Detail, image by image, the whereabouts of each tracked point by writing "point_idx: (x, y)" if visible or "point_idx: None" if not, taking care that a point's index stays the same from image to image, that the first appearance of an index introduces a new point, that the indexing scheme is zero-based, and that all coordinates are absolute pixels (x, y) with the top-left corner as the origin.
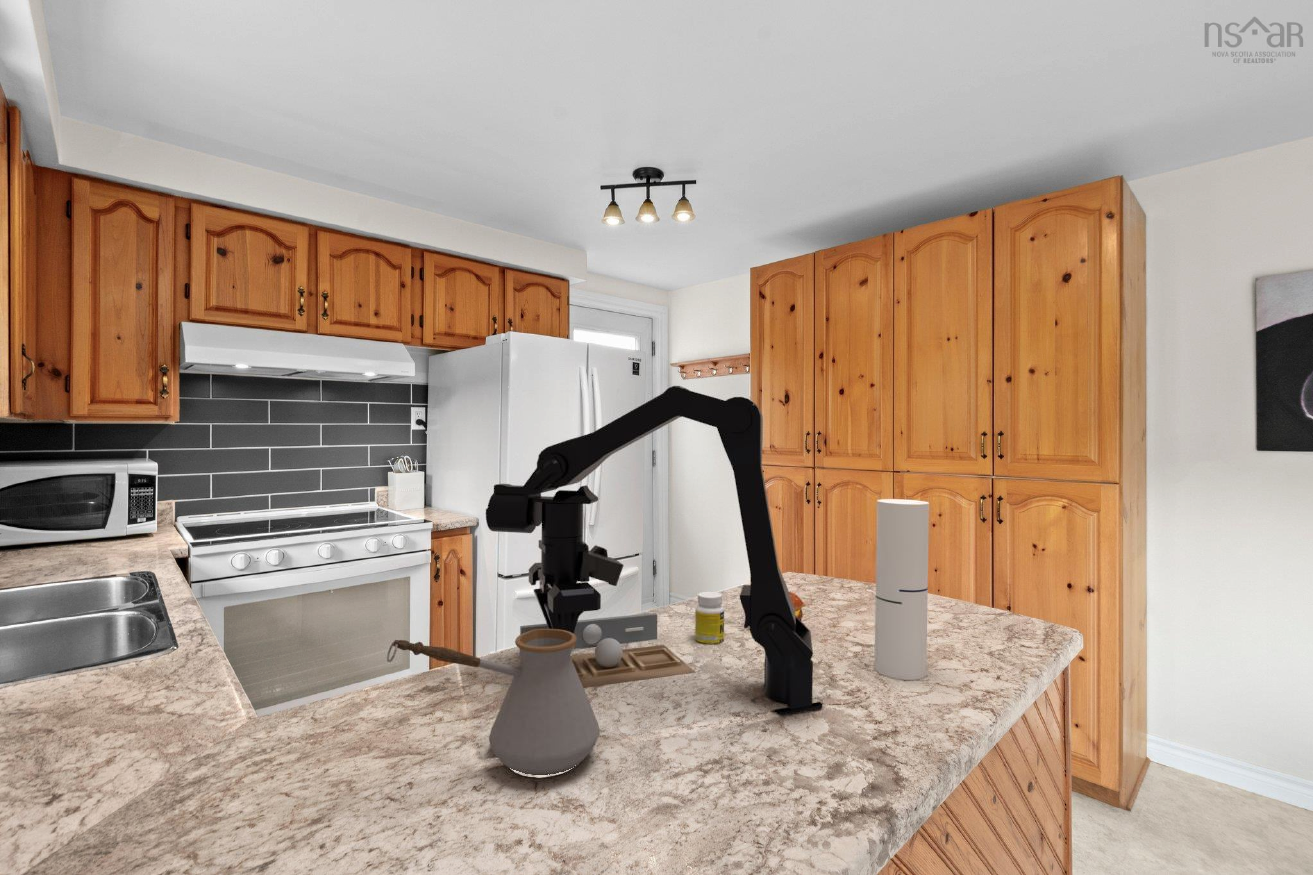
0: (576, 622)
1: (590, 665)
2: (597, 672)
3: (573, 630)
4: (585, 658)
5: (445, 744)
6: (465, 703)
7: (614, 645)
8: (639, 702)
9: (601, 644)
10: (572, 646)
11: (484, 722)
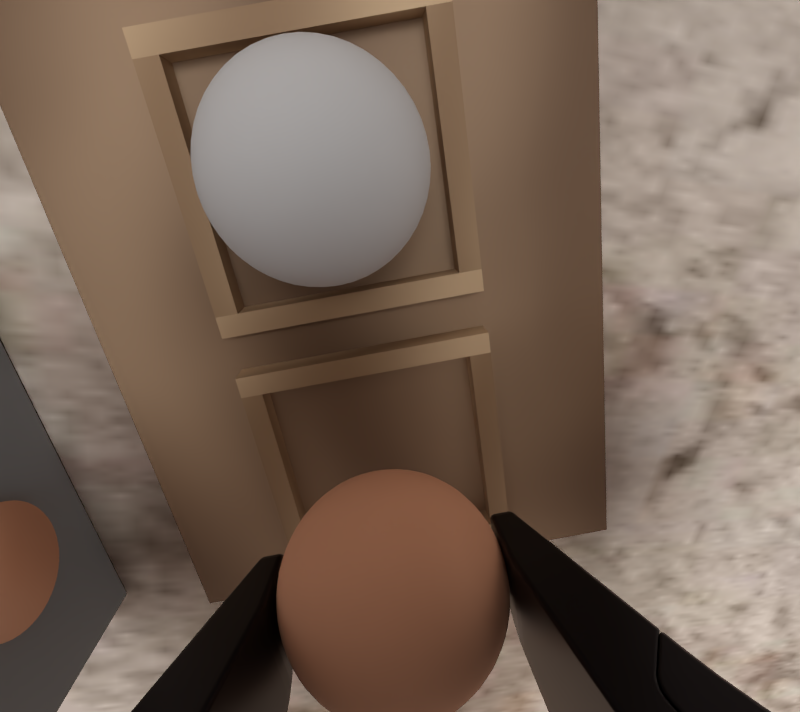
0: (765, 710)
1: (364, 301)
2: (480, 268)
3: (651, 630)
4: (236, 323)
5: (777, 707)
6: (530, 706)
7: (388, 118)
8: (767, 48)
9: (352, 247)
10: (462, 494)
11: (688, 646)
